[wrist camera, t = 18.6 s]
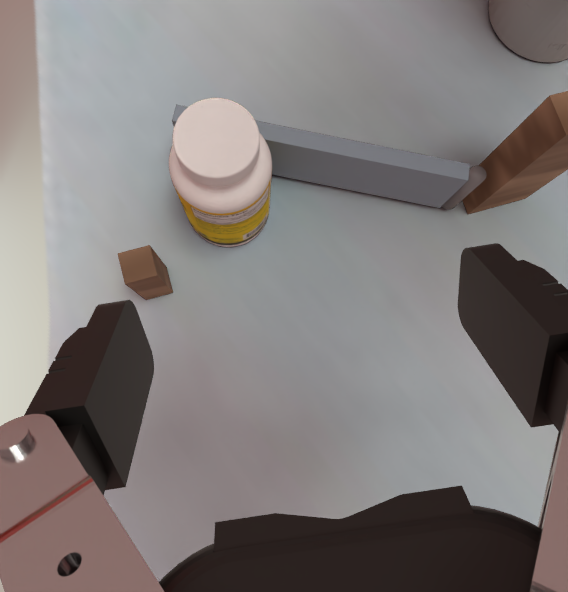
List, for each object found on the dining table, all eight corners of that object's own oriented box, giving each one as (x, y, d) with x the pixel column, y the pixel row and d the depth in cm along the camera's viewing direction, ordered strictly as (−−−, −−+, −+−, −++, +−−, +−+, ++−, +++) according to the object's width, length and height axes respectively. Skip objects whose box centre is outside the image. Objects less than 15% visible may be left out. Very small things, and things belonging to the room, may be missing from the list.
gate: (190, 130, 36) (179, 91, 31) (458, 184, 37) (488, 154, 32) (183, 156, 36) (171, 120, 31) (454, 210, 36) (485, 183, 31)
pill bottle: (196, 166, 36) (170, 73, 26) (275, 180, 37) (283, 94, 26) (180, 241, 35) (146, 179, 24) (261, 256, 35) (263, 199, 25)
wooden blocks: (138, 271, 35) (78, 213, 23) (514, 171, 38) (630, 75, 26) (146, 302, 34) (89, 260, 23) (525, 198, 38) (648, 113, 26)
